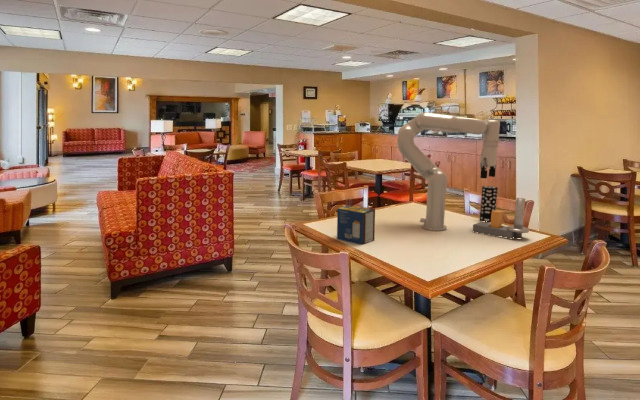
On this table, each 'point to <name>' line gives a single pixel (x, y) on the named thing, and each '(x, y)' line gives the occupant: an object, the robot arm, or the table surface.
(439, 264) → the table surface
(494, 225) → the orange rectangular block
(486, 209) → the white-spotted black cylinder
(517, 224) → the rosette post
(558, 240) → the table surface
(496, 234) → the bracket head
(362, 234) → the protein box
